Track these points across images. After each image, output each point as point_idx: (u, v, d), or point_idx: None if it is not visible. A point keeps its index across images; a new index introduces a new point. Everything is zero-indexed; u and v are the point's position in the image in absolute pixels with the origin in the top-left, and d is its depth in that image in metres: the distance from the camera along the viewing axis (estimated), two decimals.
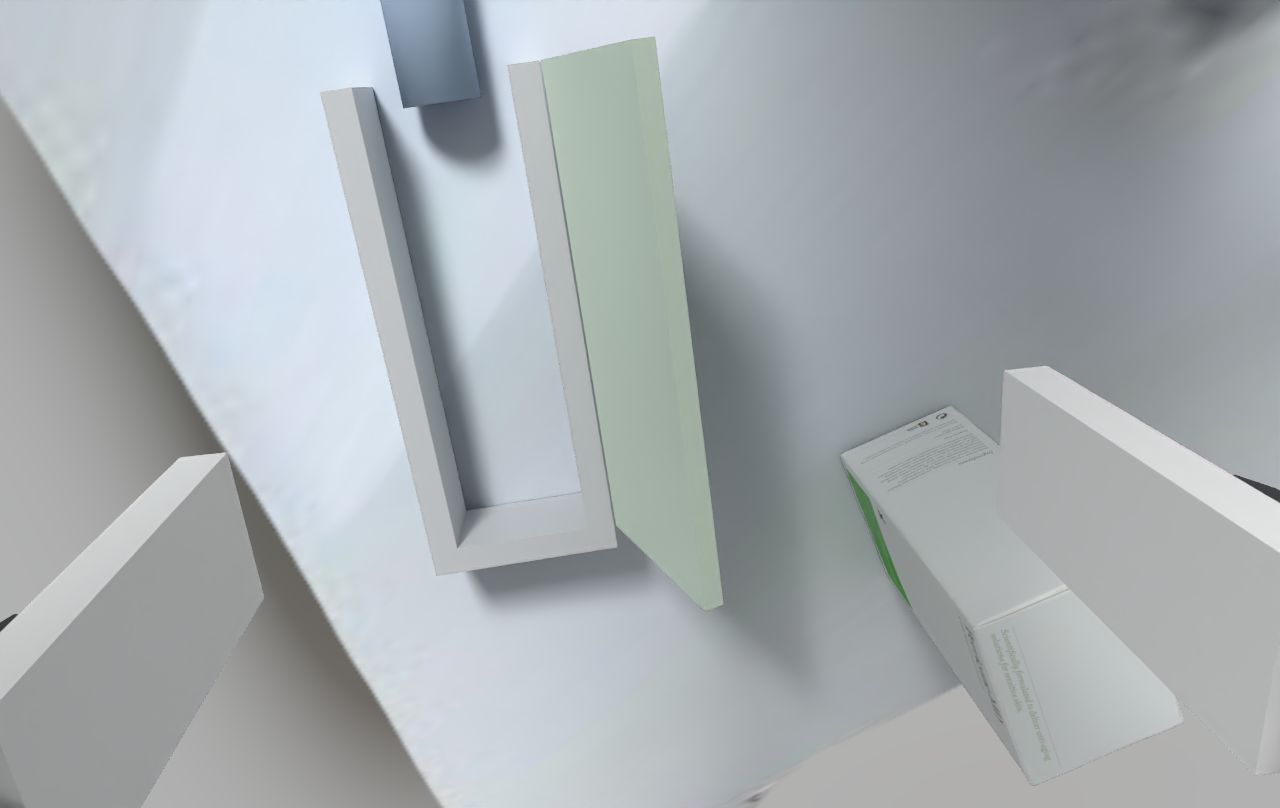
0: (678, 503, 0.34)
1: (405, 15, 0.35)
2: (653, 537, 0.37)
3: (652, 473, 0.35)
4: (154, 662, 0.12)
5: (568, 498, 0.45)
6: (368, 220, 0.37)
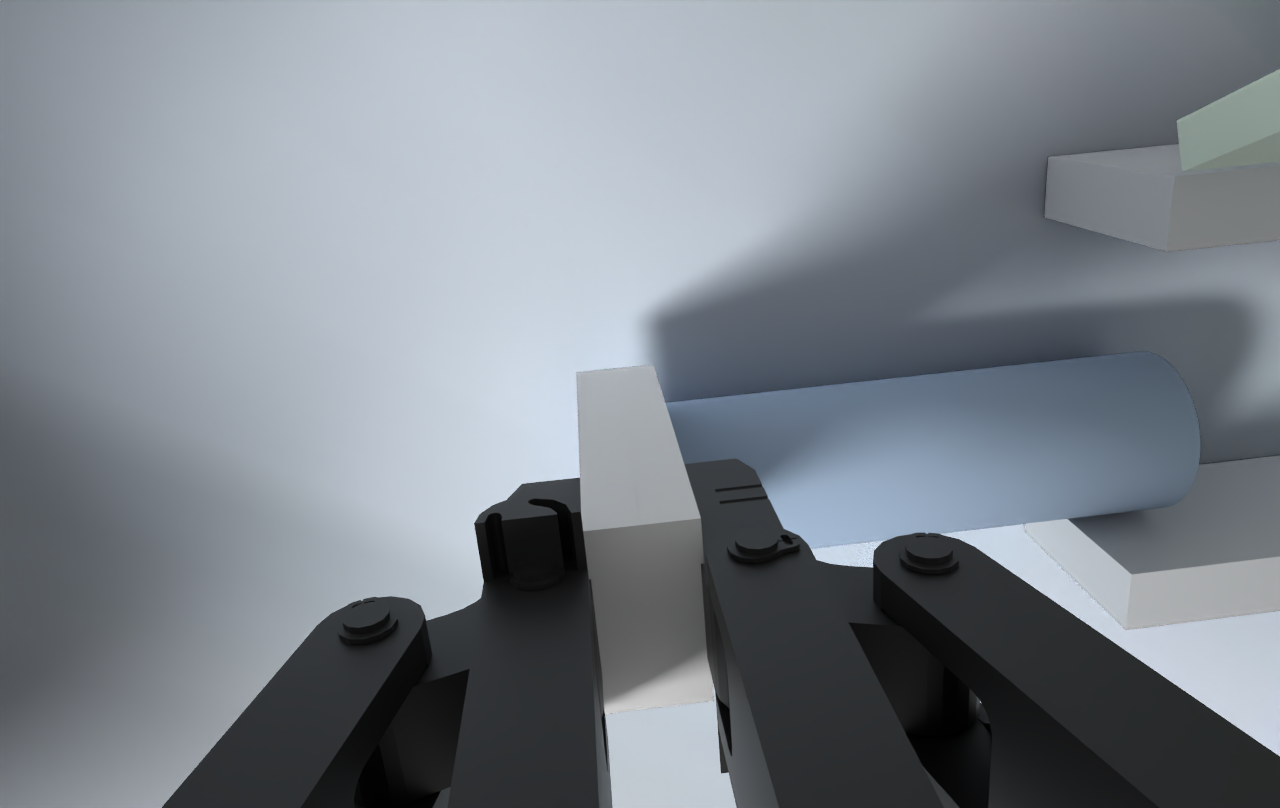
0: None
1: (1001, 525, 0.18)
2: None
3: None
4: None
5: None
6: None
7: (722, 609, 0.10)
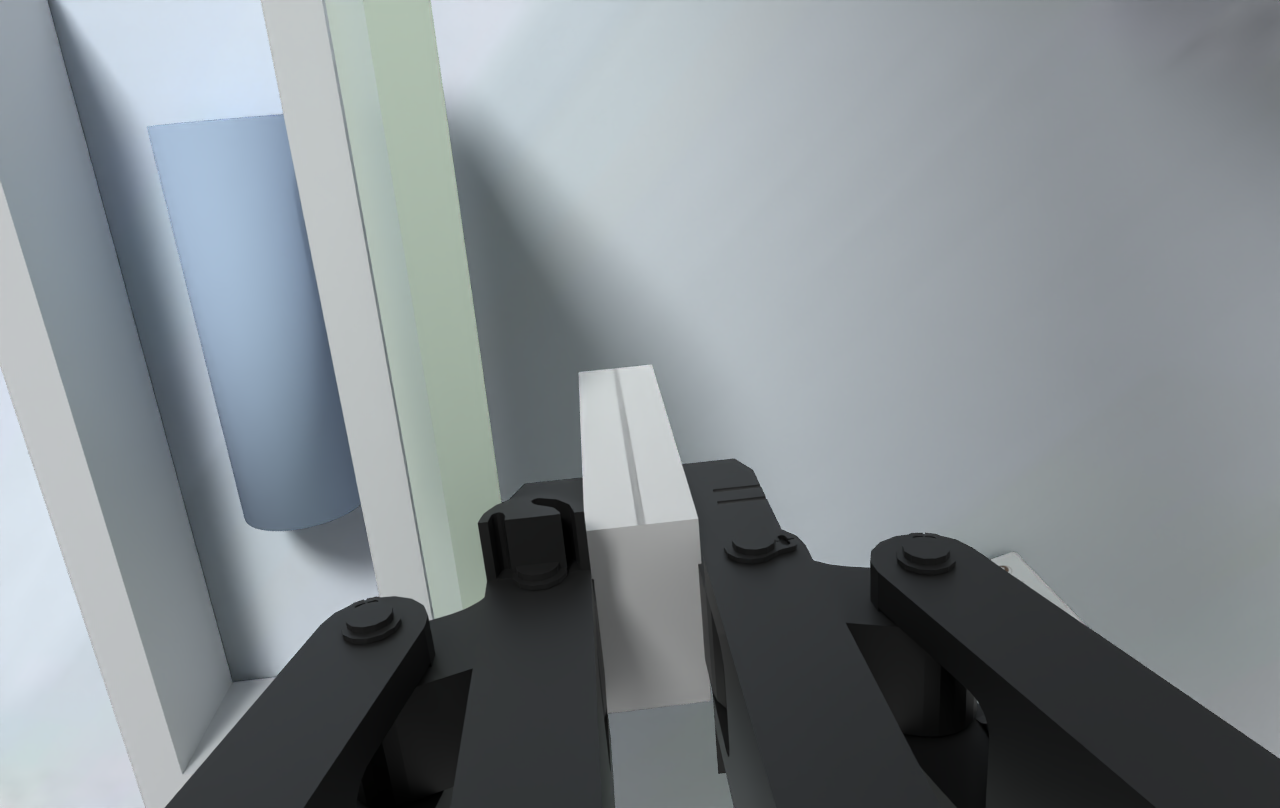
0: None
1: (276, 407, 0.22)
2: None
3: None
4: None
5: None
6: None
7: (720, 610, 0.10)
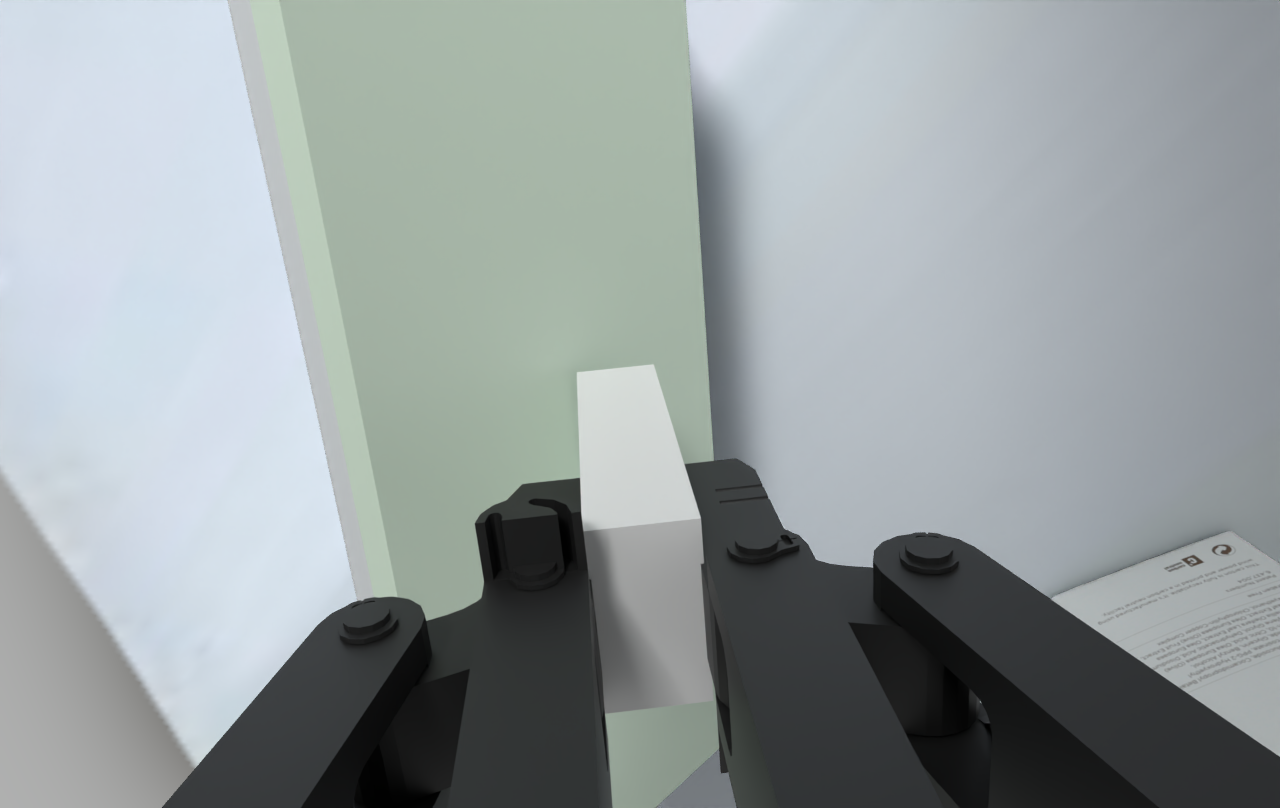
0: None
1: None
2: None
3: None
4: None
5: None
6: None
7: (722, 609, 0.10)
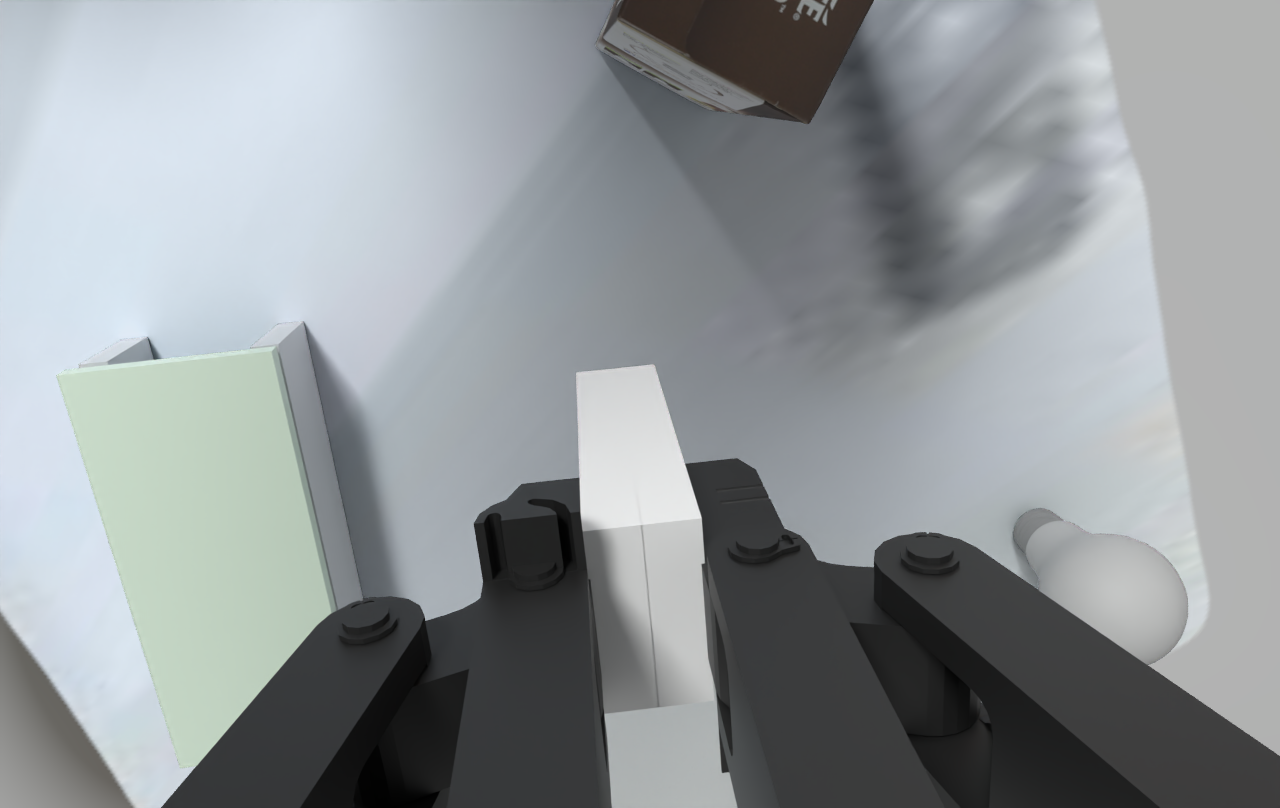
0: None
1: None
2: None
3: None
4: None
5: None
6: None
7: (723, 609, 0.10)
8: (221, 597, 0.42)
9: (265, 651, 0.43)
